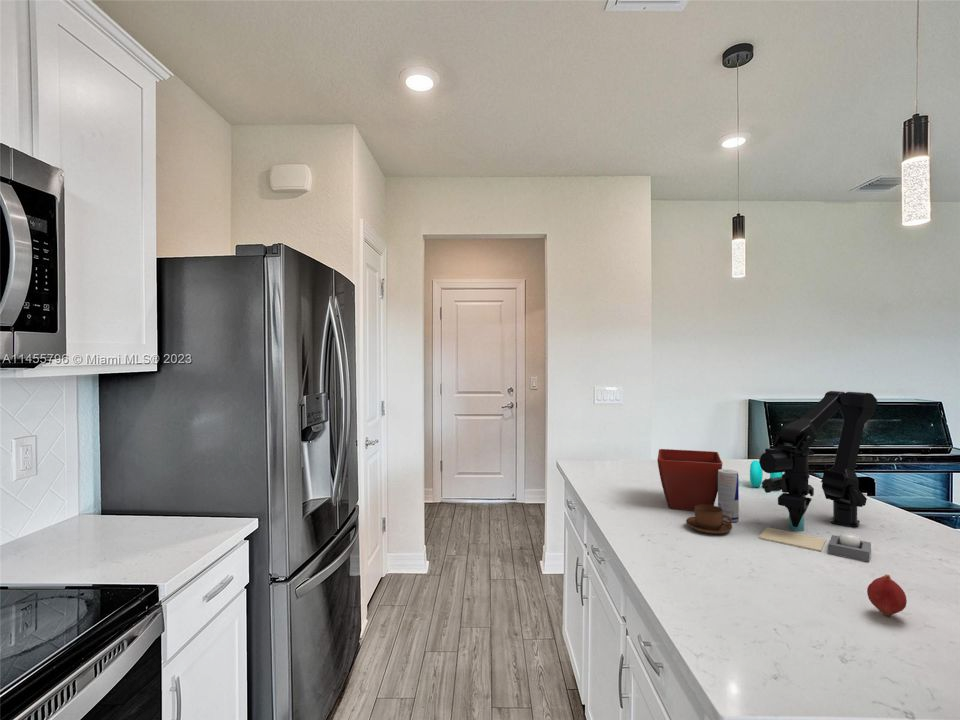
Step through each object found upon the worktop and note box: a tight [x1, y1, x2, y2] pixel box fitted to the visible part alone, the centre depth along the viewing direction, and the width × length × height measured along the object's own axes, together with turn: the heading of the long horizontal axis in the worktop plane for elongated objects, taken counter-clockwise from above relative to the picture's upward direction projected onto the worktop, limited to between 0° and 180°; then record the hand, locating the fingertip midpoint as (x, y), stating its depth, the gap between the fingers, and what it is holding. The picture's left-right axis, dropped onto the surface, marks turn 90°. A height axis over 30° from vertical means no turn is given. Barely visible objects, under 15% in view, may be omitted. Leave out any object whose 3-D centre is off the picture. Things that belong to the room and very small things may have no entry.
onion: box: [866, 573, 907, 617], centre depth 93 cm, size 6×6×8 cm
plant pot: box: [657, 448, 723, 512], centre depth 162 cm, size 19×19×17 cm
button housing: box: [827, 534, 872, 563], centre depth 122 cm, size 8×8×2 cm
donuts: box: [749, 460, 784, 488], centre depth 182 cm, size 10×10×10 cm
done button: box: [839, 532, 861, 548], centre depth 122 cm, size 4×4×3 cm
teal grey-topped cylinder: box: [788, 514, 805, 532], centre depth 139 cm, size 4×4×6 cm
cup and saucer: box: [685, 505, 733, 535], centre depth 139 cm, size 12×12×6 cm
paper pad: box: [758, 526, 827, 553], centre depth 131 cm, size 10×14×1 cm
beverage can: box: [717, 468, 740, 523], centre depth 147 cm, size 6×6×15 cm
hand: (796, 524), depth 139 cm, fingers open, 4 cm apart
